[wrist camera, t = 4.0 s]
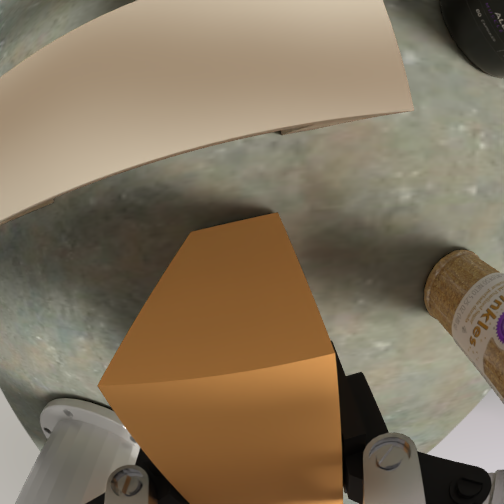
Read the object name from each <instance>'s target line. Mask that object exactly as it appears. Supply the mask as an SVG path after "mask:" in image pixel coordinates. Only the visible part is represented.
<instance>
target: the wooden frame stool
mask: <svg viewBox="0 0 504 504" xmlns="http://www.w3.org/2000/svg"><path fill="white" fill-rule="evenodd" d="M409 111H414V107H413V102H412V98H411V93H410V89H409V85H408V80H407V76H406V72H405V68H404V65H403V61H402V57H401V54H400V50H399V47H398V44H397V40H396V37H395V34H394V31H393V28H392V25H391V22H390V19H389V16H388V13H387V11H386V8H385V5H384V3H383V0H137V1H134V2H132V3H129V4H127V5H125V6H122V7H120V8H117V9H115V10H113V11H111V12H108V13H106V14H104V15H102V16H100V17H98V18H95V19H93V20H91V21H89V22H87V23H85V24H83V25H81V26H80V27H78V28H76V29H74V30H72V31H70V32H68V33H67V34H65V35H63V36H61V37H60V38H58V39H56V40H55V41H53V42H51V43H50V44H48V45H46V46H45V47H43V48H42V49H40V50H38V51H37V52H35V53H34V54H32V55H31V56H29V57H28V58H26V59H25V60H23V61H22V62H21V63H19V64H18V65H16V66H15V67H14V68H12V69H11V70H10V71H8V72H7V73H6V74H4V75H3V76H2V77H0V225H3V224H5V223H7V222H9V221H11V220H14V219H16V218H18V217H21V216H23V215H25V214H28V213H30V212H32V211H35V210H37V209H40V208H42V207H44V206H47V205H49V204H51V203H54V200H53V198H56V197H58V196H61V195H63V194H66V193H68V192H71V191H73V190H76V189H78V188H81V187H83V186H86V185H89V184H91V183H94V182H97V181H99V180H102V179H105V178H108V177H111V176H113V175H116V174H119V173H122V172H125V171H128V170H131V169H134V168H137V167H140V166H143V165H146V164H150V163H153V162H156V161H159V160H163V159H166V158H169V157H173V156H176V155H180V154H183V153H187V152H191V151H194V150H198V149H202V148H206V147H209V146H213V145H217V144H221V143H225V142H230V141H234V140H238V139H243V138H247V137H252V136H256V135H261V134H266V133H271V132H276V131H281V134H282V135H285V134H290V133H296V132H301V131H307V130H313V129H318V128H322V127H327V126H331V125H336V124H341V123H346V122H351V121H356V120H361V119H366V118H372V117H378V116H383V115H389V114H396V113H402V112H409Z"/></svg>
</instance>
